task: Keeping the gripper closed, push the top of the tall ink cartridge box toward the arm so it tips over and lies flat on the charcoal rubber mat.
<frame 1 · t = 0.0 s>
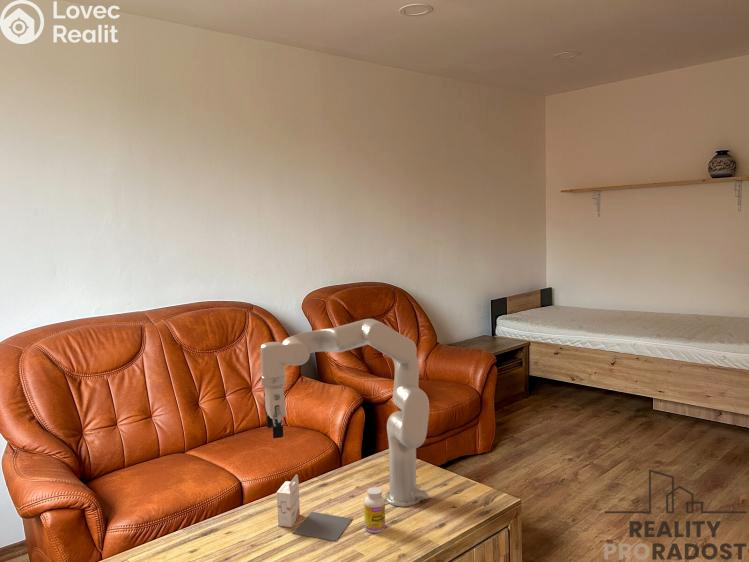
hand: (275, 432, 186), 31 cm above the table, tool pointing down, fingers open, 9 cm apart
supplement bottle: (374, 529, 186), on the table
ink cartridge box: (288, 521, 191), on the table
mat: (323, 526, 187), on the table
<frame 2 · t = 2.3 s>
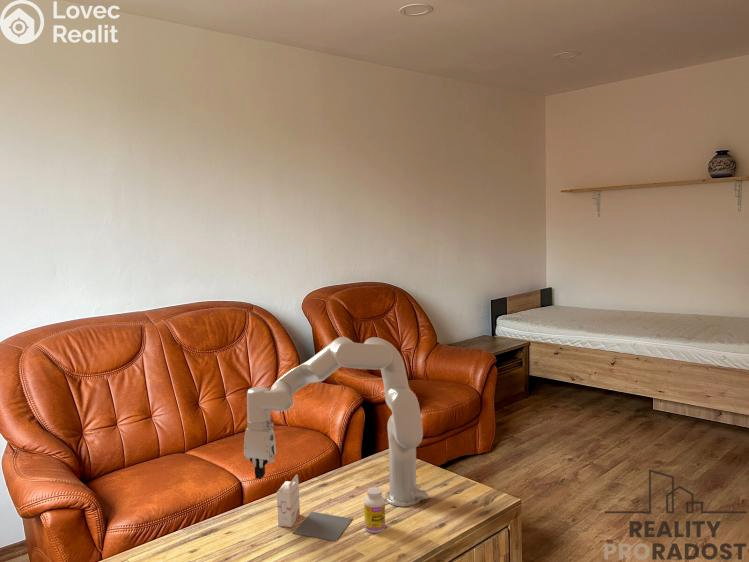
hand: (260, 477, 193), 14 cm above the table, tool pointing down, fingers closed
nothing on the table moved.
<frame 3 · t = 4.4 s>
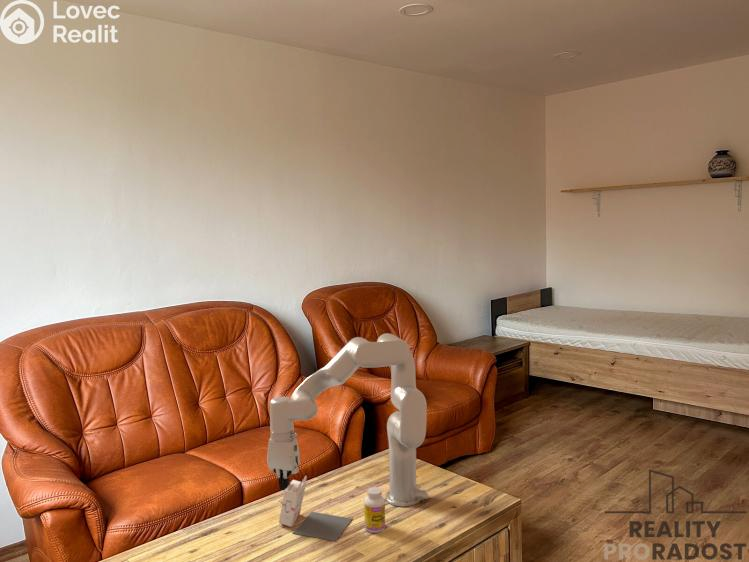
hand: (283, 488, 191), 11 cm above the table, tool pointing down, fingers closed
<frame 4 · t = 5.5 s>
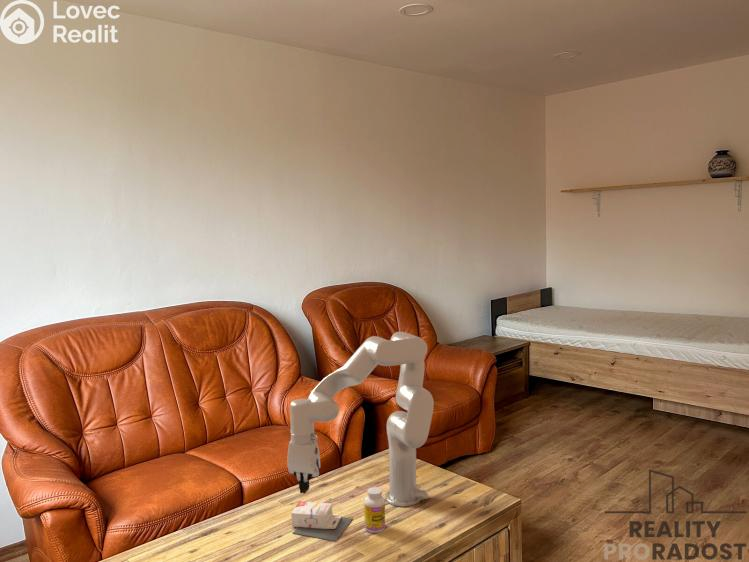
hand: (304, 491, 188), 11 cm above the table, tool pointing down, fingers closed
ink cartridge box: (294, 513, 190), point 3 cm above the table, touching mat
everything else where it was.
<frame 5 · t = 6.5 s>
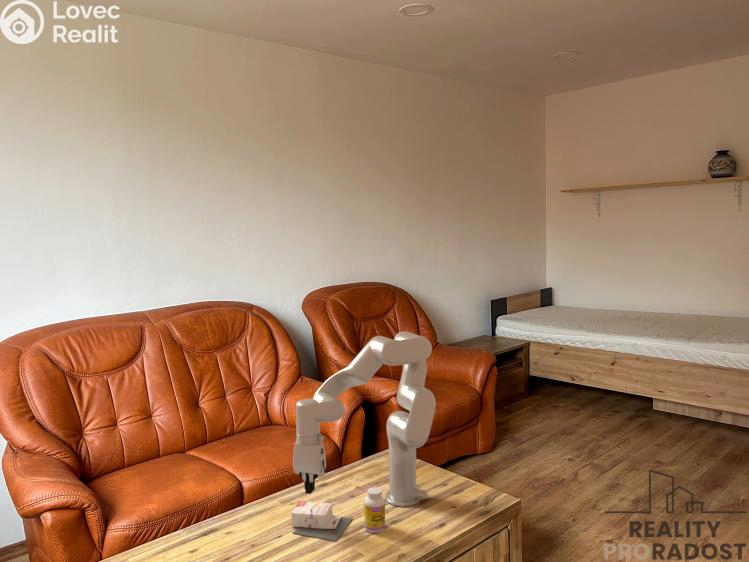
hand: (309, 491, 188), 11 cm above the table, tool pointing down, fingers closed
nothing on the table moved.
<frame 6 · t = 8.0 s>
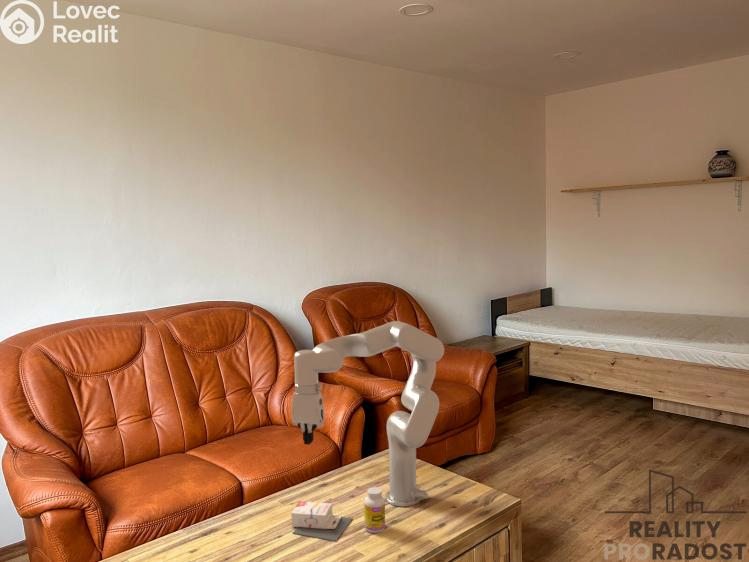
hand: (308, 443, 188), 27 cm above the table, tool pointing down, fingers closed
nothing on the table moved.
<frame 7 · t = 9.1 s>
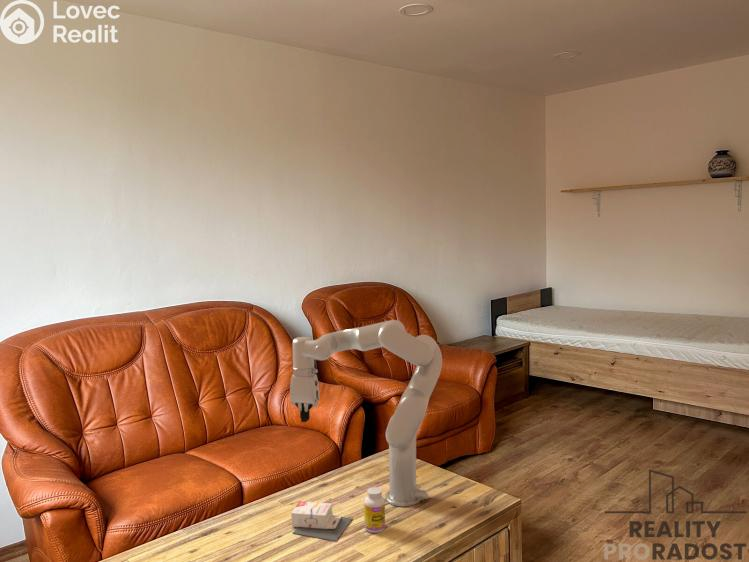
hand: (305, 420, 208), 27 cm above the table, tool pointing down, fingers closed
nothing on the table moved.
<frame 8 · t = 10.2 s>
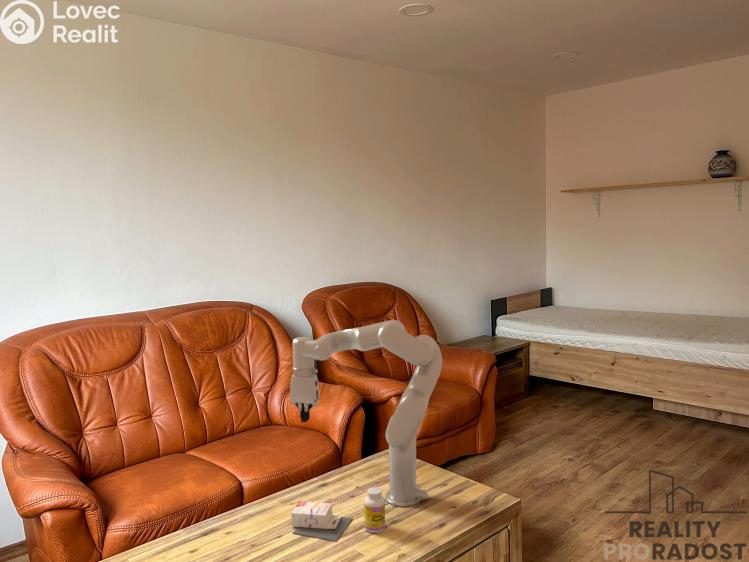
hand: (305, 420, 208), 27 cm above the table, tool pointing down, fingers closed
nothing on the table moved.
at the end: ink cartridge box tilted 90°; ink cartridge box touching mat; ink cartridge box inside the target area (3.8 cm from its centre), point 2.8 cm above the table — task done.
